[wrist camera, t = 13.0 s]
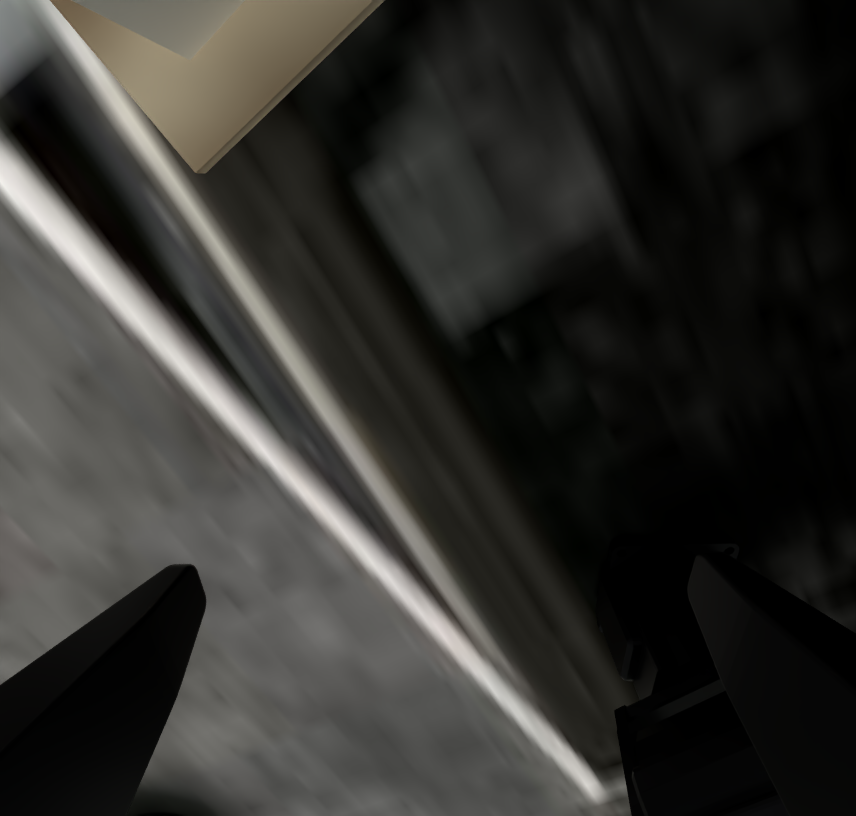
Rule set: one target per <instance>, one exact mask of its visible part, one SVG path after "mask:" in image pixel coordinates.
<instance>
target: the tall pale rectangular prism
mask: <svg viewBox="0 0 856 816" xmlns="http://www.w3.org/2000/svg"><path fill="white" fill-rule="evenodd" d="M72 1H74V2H76V3H78V4H80V5H82V6H84V7H86V8H87V9H89V10H91V11H93V12H95V13H97V14H99V15H101V16H103V17H105V18H107V19H109V20H111V21H113V22H115V23H117V24H119V25H121V26H123V27H125V28H127V29H129V30H131V31H133V32H135V33H137V34H139V35H141V36H143V37H145V38H147V39H149V40H151V41H153V42H155V43H157V44H159V45H161V46H163V47H165V48H167V49H169V50H171V51H172V52H174V53H176V54H178V55H180V56H182V57H184V58H186V59H188V60H191V59H192V58H193V57H194V56H195V55H196V54H197V52H198V51H199V50H200V49H201V48H202V47H203V46H204V45H205V44H206V43H207V42H208V40H209V39H210V38H211V37H212V36H213V35H214V34H215V33H216V32H217V31H218V29H219V28H220V27H221V26H222V25H223V24H224V23H225V22H226V21H227V20H228V18H229V17H230V16H231V15H232V14H233V13H234V12H235V11H236V10H237V9H238V7H239V6H240V5H241V4H242V3H243V2H244V1H245V0H72Z"/></svg>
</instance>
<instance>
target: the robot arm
mask: <svg viewBox="0 0 856 816" xmlns="http://www.w3.org/2000/svg"><path fill="white" fill-rule="evenodd" d="M619 550H622V551H620V552H618V551H619ZM738 553H739V546H738V545H737V544H736V543H735V541H734V540H732V539H730V538H711V539H669V540H628V541H616V542H614V543H613V544H612V545H611V546H610V548H609V554H608V560H607V566H606V572H605V576H603V577H602V579H601V580H600V585H599V591H598V597H597V604H596V610H595V612H596V615H597V617H598V619H597V625H598V627H599V630H600V631H601V632H602V633H604V636H605V638H606V641H607V644H608V646H609V649H610V652H611V654H612V657H613V660H614V662H615V665H616V667H617V670H618V673H619V675H620V677H621V678H623V679H624V680H625V681H633V684H634V686H635V689H636V691H637V694H638V696H639V699H640V701H638V702H636V703H633V704H631V705H629V706H625V705H624V706H622V707H620V708H618V709H616V710H614V712H615V718H616V724H617V734H618V740H619V746H620V751H621V757H622V763H623V769H624V774H625V780H626V786H627V792H628V797H629V803H630V809H631V814H632V816H856V633H854V632H852V631H851V630H849V629H848V628H846V627H844V626H843V625H841V624H839V623H838V622H836V621H835V620H833V619H831V618H830V617H828V616H827V615H825V614H823V613H822V612H820V611H819V610H817V609H815V608H814V607H812V606H810V605H809V604H807V603H806V602H804V601H802V600H801V599H799V598H798V597H796V596H794V595H793V594H791V593H789V592H788V591H786V590H785V589H783V588H781V587H780V586H778V585H777V584H775V583H773V582H772V581H770V580H768V579H767V578H765V577H764V576H762V575H760V574H759V573H757V572H756V571H754V570H752V569H751V568H749V567H748V566H746V565H744V564H743V563H741V562H739V561H738V560H736V559H737V556H738ZM205 609H206V595H205V592H204V589H203V586H202V583H201V580H200V577H199V574H198V571H197V569H196V567H195V566H194V565H191V564H174V565H170V566H168V567H166V568H164V569H163V570H162V571H160V572H159V573H157V574H156V575H155V576H153V577H152V578H150V579H149V580H147V581H146V582H145V583H143V584H142V585H140V586H139V587H138V588H136V589H135V590H133V591H132V592H131V593H129V594H128V595H126V596H125V597H124V598H122V599H121V600H119V601H118V602H116V603H115V604H114V605H112V606H111V607H109V608H108V609H107V610H105V611H104V612H102V613H101V614H100V615H98V616H97V617H95V618H94V619H93V620H91V621H90V622H88V623H87V624H86V625H84V626H83V627H81V628H80V629H78V630H77V631H76V632H74V633H73V634H71V635H70V636H69V637H67V638H66V639H64V640H63V641H62V642H60V643H59V644H57V645H56V646H55V647H53V648H52V649H50V650H49V651H47V652H46V653H45V654H43V655H42V656H40V657H39V658H38V659H36V660H35V661H33V662H32V663H31V664H29V665H28V666H26V667H25V668H24V669H22V670H21V671H19V672H18V673H17V674H15V675H14V676H12V677H11V678H9V679H8V680H7V681H5V682H4V683H2V684H1V685H0V816H126V815H127V812H128V810H129V808H130V805H131V803H132V801H133V798H134V796H135V794H136V791H137V789H138V787H139V784H140V782H141V780H142V777H143V775H144V773H145V770H146V768H147V766H148V764H149V761H150V759H151V757H152V754H153V752H154V750H155V747H156V745H157V743H158V740H159V738H160V736H161V733H162V731H163V729H164V726H165V724H166V722H167V719H168V717H169V715H170V712H171V710H172V708H173V705H174V703H175V700H176V698H177V695H178V692H179V690H180V687H181V684H182V681H183V678H184V675H185V672H186V668H187V665H188V662H189V659H190V656H191V653H192V650H193V647H194V644H195V640H196V637H197V634H198V631H199V628H200V625H201V622H202V619H203V615H204V612H205Z"/></svg>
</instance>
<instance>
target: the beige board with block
mask: <svg viewBox="0 0 856 816" xmlns="http://www.w3.org/2000/svg"><path fill="white" fill-rule="evenodd" d="M50 1H51V2H52V3H53V5H54V6H55V7H56V8H57V9H58V10H59V12H60V13H61V14H62V15H63V16H64V18H65V19H66V20H67V21H68V22H69V23H70V25H71V26H72V27H73V28H74V29H75V31H76V32H77V33H78V34H79V35H80V37H81V38H82V39H83V40H84V41H85V42H86V44H87V45H88V46H89V47H90V48H91V50H92V51H93V52H94V53H95V54H96V56H97V57H98V58H99V59H100V60H101V61H102V63H103V64H104V65H105V66H106V67H107V69H108V70H109V71H110V72H111V73H112V74H113V76H114V77H115V78H116V79H117V80H118V82H119V83H120V84H121V85H122V86H123V88H124V89H125V90H126V91H127V92H128V93H129V95H130V96H131V97H132V98H133V99H134V101H135V102H136V103H137V104H138V105H139V107H140V108H141V109H142V110H143V111H144V112H145V114H146V115H147V116H148V117H149V118H150V120H151V121H152V122H153V123H154V124H155V125H156V127H157V128H158V129H159V130H160V131H161V133H162V134H163V135H164V136H165V137H166V139H167V140H168V141H169V142H170V143H171V144H172V146H173V147H174V148H175V149H176V150H177V152H178V153H179V154H180V155H181V156H182V158H183V159H184V160H185V161H186V162H187V163H188V165H189V166H190V167H191V168H192V169H193V171H194V172H195V173H206V172H208V171H209V170H210V169H211V168H212V167H213V166H214V165H215V164H216V163H217V162H218V161H219V160H220V159H221V158H222V157H223V156H224V155H225V154H226V153H227V152H228V151H229V150H230V149H231V148H232V147H233V146H234V145H235V144H237V143H238V142H239V141H240V140H241V139H242V138H243V137H244V136H245V135H246V134H247V133H248V132H249V131H250V130H251V129H252V128H253V127H254V126H255V125H256V124H257V123H258V122H259V121H260V120H261V119H262V118H263V117H265V116H266V115H267V114H268V113H269V112H270V111H271V110H272V109H273V108H274V107H275V106H276V105H277V104H278V103H279V102H280V101H281V100H282V99H283V98H284V97H285V96H286V95H287V94H288V93H289V92H290V91H291V90H292V89H294V88H295V87H296V86H297V85H298V84H299V83H300V82H301V81H302V80H303V79H304V78H305V77H306V76H307V75H308V74H309V73H310V72H311V71H312V70H313V69H314V68H315V67H316V66H317V65H318V64H319V63H320V62H321V61H323V60H324V59H325V58H326V57H327V56H328V55H329V54H330V53H331V52H332V51H333V50H334V49H335V48H336V47H337V46H338V45H339V44H340V43H341V42H342V41H343V40H344V39H345V38H346V37H347V36H348V35H349V34H351V33H352V32H353V31H354V30H355V29H356V28H357V27H358V26H359V25H360V24H361V23H362V22H363V21H364V20H365V19H366V18H367V17H368V16H369V15H370V14H371V13H372V12H373V11H374V10H375V9H376V8H377V7H378V6H380V5H381V4H382V3H383V2H384V1H385V0H245V1H244V2H243V3H242V4H241V5H240V6H239V7H238V9H237V10H236V11H235V12H234V13H233V14H232V15H231V16H230V17H229V18H228V20H227V21H226V22H225V23H224V24H223V25H222V26H221V27H220V28H219V29H218V31H217V32H216V33H215V34H214V35H213V36H212V37H211V38H210V39H209V40H208V42H207V43H206V44H205V45H204V46H203V47H202V48H201V49H200V50H199V51H198V52H197V54H196V55H195V56H194V57H193V58H192V59H191V60H188V59H186V58H184V57H182V56H180V55H178V54H176V53H174V52H172V51H171V50H169V49H167V48H165V47H163V46H161V45H159V44H157V43H155V42H153V41H151V40H149V39H147V38H145V37H143V36H141V35H139V34H137V33H135V32H133V31H131V30H129V29H127V28H125V27H123V26H121V25H119V24H117V23H115V22H113V21H111V20H109V19H107V18H105V17H103V16H101V15H99V14H97V13H95V12H93V11H91V10H89V9H87V8H86V7H84V6H82V5H80V4H78V3H76V2H74V1H72V0H50Z"/></svg>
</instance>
